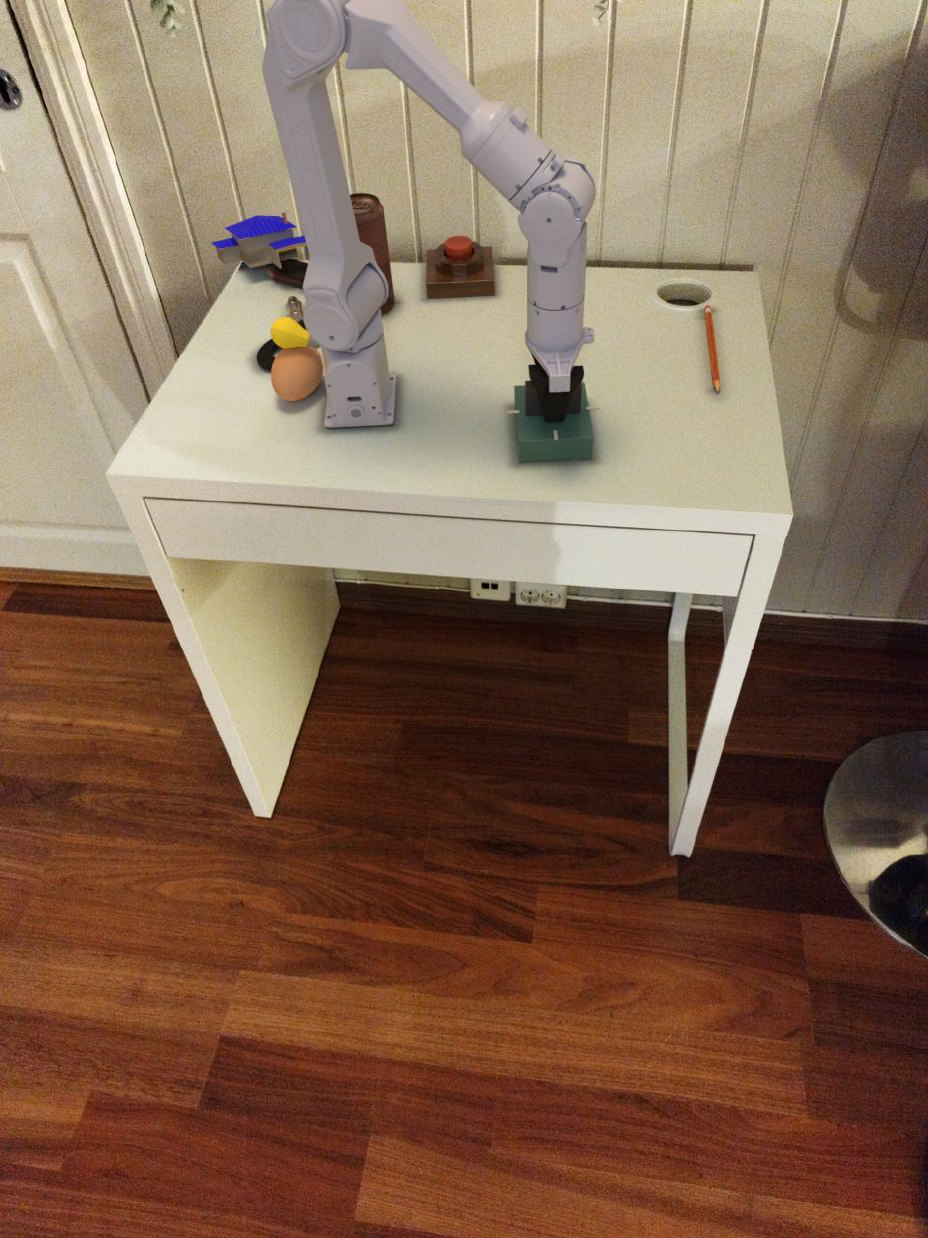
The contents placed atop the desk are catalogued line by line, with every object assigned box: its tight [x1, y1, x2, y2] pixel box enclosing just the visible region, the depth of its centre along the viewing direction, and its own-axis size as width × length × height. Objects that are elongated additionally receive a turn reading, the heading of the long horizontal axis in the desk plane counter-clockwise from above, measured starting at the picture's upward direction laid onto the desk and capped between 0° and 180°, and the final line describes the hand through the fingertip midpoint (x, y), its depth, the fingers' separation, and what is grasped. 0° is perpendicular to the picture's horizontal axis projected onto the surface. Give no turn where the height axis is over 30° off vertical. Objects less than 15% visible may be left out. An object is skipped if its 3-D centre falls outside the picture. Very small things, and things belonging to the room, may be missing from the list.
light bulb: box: [270, 316, 321, 350], centre depth 108 cm, size 3×6×4 cm
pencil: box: [704, 304, 721, 392], centre depth 114 cm, size 1×18×1 cm, turn 174°
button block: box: [425, 240, 496, 299], centre depth 127 cm, size 9×9×4 cm
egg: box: [270, 346, 324, 402], centre depth 111 cm, size 6×6×8 cm
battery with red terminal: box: [524, 379, 582, 416], centre depth 102 cm, size 6×2×4 cm, turn 91°
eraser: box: [268, 258, 309, 289], centre depth 129 cm, size 11×4×2 cm, turn 61°
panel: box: [506, 381, 600, 463], centre depth 105 cm, size 10×10×3 cm
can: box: [350, 192, 395, 316], centre depth 120 cm, size 6×6×14 cm
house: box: [211, 212, 310, 269], centre depth 130 cm, size 11×14×6 cm
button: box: [444, 235, 473, 260], centre depth 125 cm, size 4×4×2 cm
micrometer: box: [256, 295, 307, 370], centre depth 120 cm, size 15×7×2 cm, turn 14°
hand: (552, 407), depth 103 cm, fingers open, 4 cm apart
